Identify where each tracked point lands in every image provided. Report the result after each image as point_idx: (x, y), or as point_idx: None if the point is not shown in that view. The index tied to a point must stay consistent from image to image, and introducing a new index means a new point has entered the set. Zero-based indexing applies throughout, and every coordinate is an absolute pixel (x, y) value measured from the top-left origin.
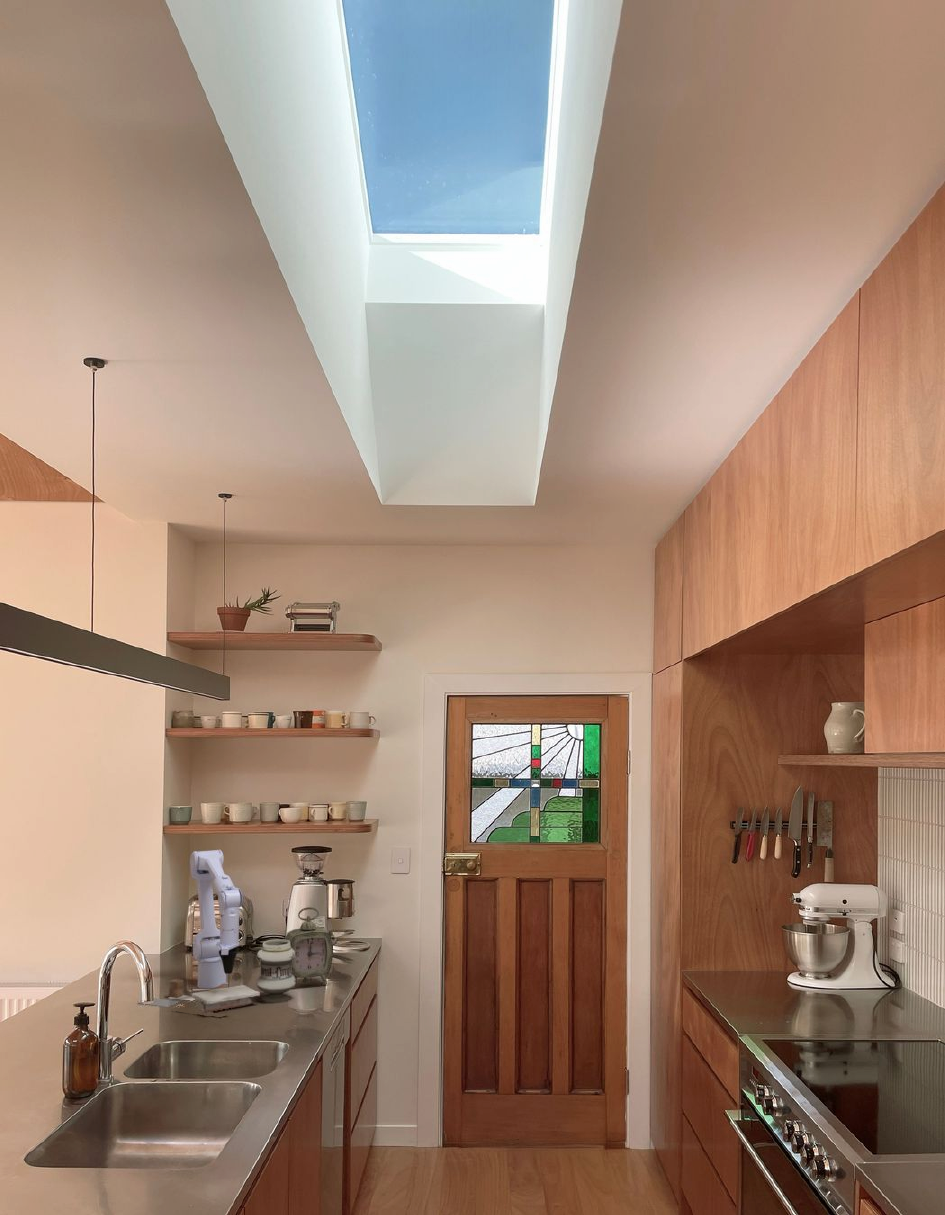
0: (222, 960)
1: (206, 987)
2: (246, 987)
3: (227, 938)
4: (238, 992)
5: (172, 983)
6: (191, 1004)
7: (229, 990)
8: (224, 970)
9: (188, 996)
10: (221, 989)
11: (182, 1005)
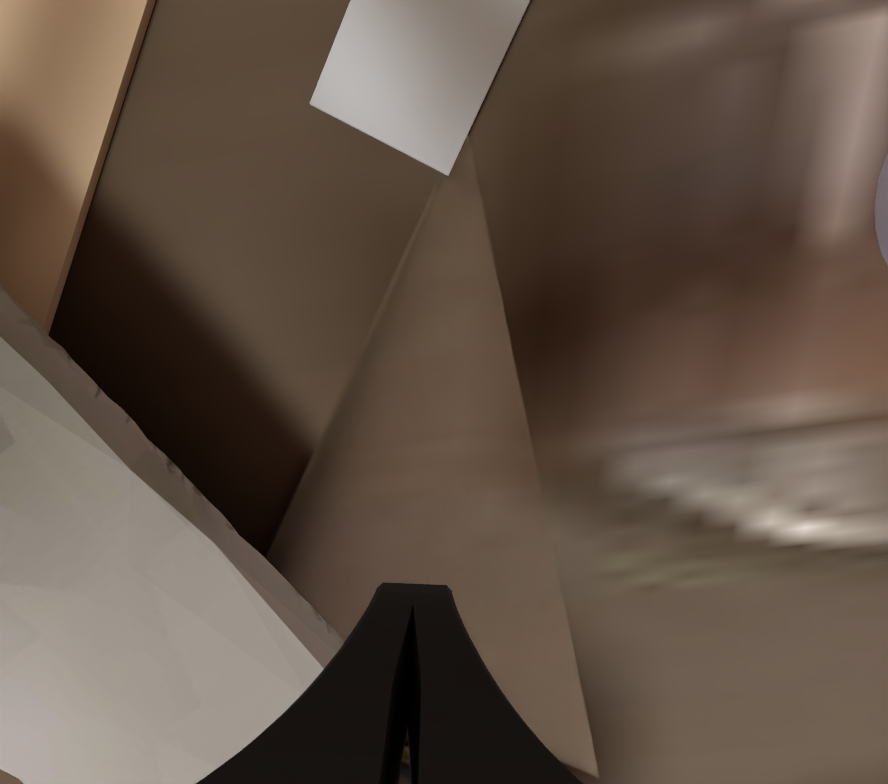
0: (270, 731)
1: (886, 178)
2: (226, 757)
3: None
4: (6, 704)
5: None
6: (225, 109)
7: (66, 606)
8: (367, 609)
9: (496, 14)
10: (85, 514)
11: (108, 8)
